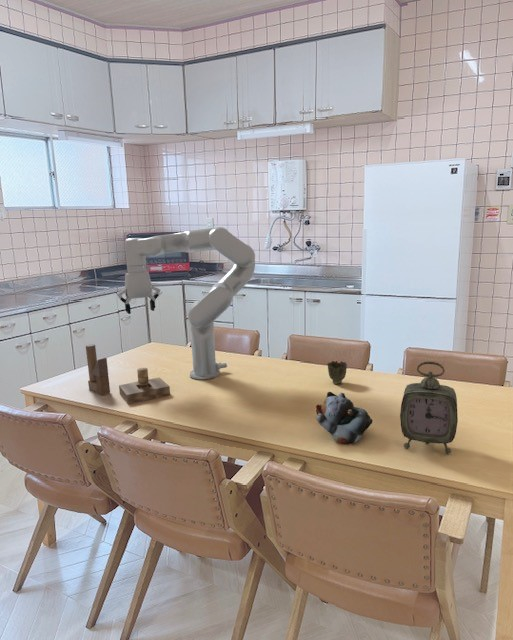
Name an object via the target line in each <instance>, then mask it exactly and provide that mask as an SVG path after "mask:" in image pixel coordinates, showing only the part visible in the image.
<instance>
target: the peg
mask: <svg viewBox="0 0 513 640" xmlns="http://www.w3.org/2000/svg"><path fill="white" fill-rule="evenodd" d="M148 369H149V368H148V367H139V368H137V372H136V373H137V382H138V383H139V386H140V389H142V388H147V387H148V382H149V371H148Z"/></svg>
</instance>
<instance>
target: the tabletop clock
mask: <svg viewBox="0 0 513 640" xmlns="http://www.w3.org/2000/svg"><path fill="white" fill-rule="evenodd" d="M423 365H435V366H438V367H440V368H441V370H442V372H440V373H437V374H433V371H429V372H428V373H424V372H422V371H420V367H422V366H423ZM416 371H417V372H418V374H419V375H421V376H424V378H423V379H422V380H421V381H420V382H412V383H409V384H406V387H405V389H404V392H403V395H402V400H401V405H400V413H399V414H400V415H399V417H400V419H399V420H400V429H401V433H402V435H403V437H404V438H407V439H408V441H407V442H405V443H404V444H403V447H404V449H406V450H407V449H410V448H411V447H410V446H411V445H410V443H411V442H412V441H416V442H422V443H425V444H426V445H429V444H442V445H444V447H445V449H444V453H445V454H447V455H450V454H451V453H452V450H451V448H450V447H448V444H450V443H453V440H454V439H455V437H456V433H457V428H458V421H459V420H458V398H457V393H456V391H455V389H454V388H453V387H450V386H448V385H445V384H440V381H439V380H438V379H437V378H438V377H441V376H443V375H444V373H445V371H446V370H445V368H444V366H443V365H442V364H441V363H439V362H435V361H424V362H421V363H419V364H418V366H417V368H416Z"/></svg>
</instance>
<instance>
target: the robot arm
mask: <svg viewBox="0 0 513 640" xmlns="http://www.w3.org/2000/svg"><path fill="white" fill-rule="evenodd" d="M124 248H125V249H124V250H125V260H126V261H125V262H126V271H127V273H125V274H124V288H123V289H122V290H121V291H118V293H116V295H117V297H118V299H119V300H120V301H121V302H122V303H124V306H125V307H124V308H125V312H126V314H128V315H130V314H131V313H132V312H131V311H132V310H131V304H130V302H131V300H133V299H135V300H136V299H144V298H149V307H150V308H149V309H150V310H151V311H153V312H154V311H155V309H156V299H158V297H159V296H160V292H161V288H158V287H156V286H153V285H152V280H151V276H150V272H149V271H148V270H151V266H150V265H148V264H147V258H146V257H153V258H154V257H158V256H160V255H163V254H170V253H188V254H189V253H191V254H192V253H199V252H206V251H214V250H215V251H217V252H218V253H220V254H221V255H222V256H224V257H225V258H226V259H228V260H229V261H231V262H232V263H233V266H232V268H231V269H230V270H229V271H228V272H227V273H226V274H225V275H224V276H223V277H222V278H220V280H219V281H218V282H216V283H215V284H214V285H212V286H211V288H209V291H208V293H207V294H205V295H204V296H203V297H202V298H201V299H199V300H196V301H194V302H193V303H192V304H191V305H190V307H189V309H188V313H187V318H188V322H189V324H190V325H189V327H190V339H191V342H190V343H191V352H192V353H191V355H192V357H191V358H192V369H193V370H191V371H190V372H189V377H190V378H192V379H194V380H203V381H204V380H210V379H214V378H217V377H219V376H220V375H221V369H224V368H227V367H228V365H227V363H222V362H217V361H216V360H217V359H216V347H215V346H216V345H215V325H214V322H215V320H217V319H218V318H219V317H220V316H221V315H222V314H223V313H224V312H225V311H226V310H228V308H229V307H230V305H231V304H232V302H233V299H234V296H236V295H237V294H238V293H239V292H240V291H241V290H242V289H243V288H244V287H245V286H246V285H247V284H248V283H249V281H250V280H251V279H252V276H253V275H254V271H255V268H256V253H255V251H254V249H253V248H252V247H251V246H250V244H246V243H245V242H244V241H242V240H240V239H239V238H238V237H236V236H235V235H233V234H232V233H231V232H230V231H228V229H227V228H225V227H221V226H217V227H209V228H203V229H202V228H201V229H194V230H185V231H183V232H182V231H181V232H177V233H176V232H175V233H170V234H163V235H154V236H151V237H146V238H142V237H130V238H126V239H125V241H124ZM153 291H155V293H154V294H153ZM124 294H125V297H126V298H124V297H123V295H124Z"/></svg>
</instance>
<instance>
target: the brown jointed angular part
mask: <svg viewBox="0 0 513 640" xmlns="http://www.w3.org/2000/svg"><path fill="white" fill-rule="evenodd" d="M96 347H97V346H96V344H94V343H89V344H87V345H85V352H86V362H87V367H88V368H87V369H88V378H89V379H88V380H87V383H88V384H87V385H88V389H89V390H90V391H92V392H94V393H97V394H99V395H101V396H104V395H106V394H107V393H108V394H111V388H110V386H111V385H110V379H109V369H108V359H107V357H103V358H99V359H97V349H96Z"/></svg>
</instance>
